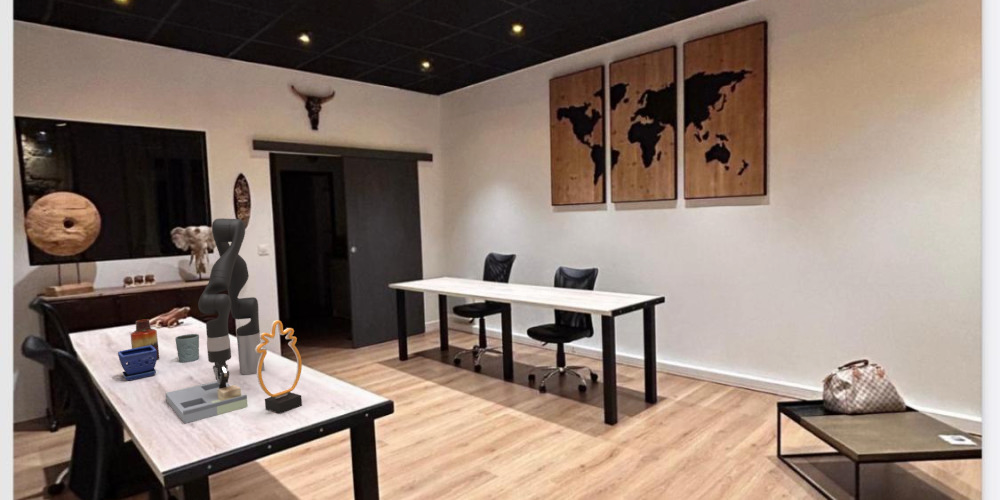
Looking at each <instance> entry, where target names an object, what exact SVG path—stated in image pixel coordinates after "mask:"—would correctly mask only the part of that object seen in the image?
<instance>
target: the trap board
mask: <svg viewBox="0 0 1000 500" xmlns="http://www.w3.org/2000/svg"><path fill="white" fill-rule="evenodd" d="M218 384H219V383H217V381H211V382H207V383H206V382H205V383H202V384H199V385H194V386H193V385H192V386H190V387H185V388H182V389H177V390H172V391H167V392H165V401H166V402H167V404H168V406H170V407H171V409H172V411H174V412H175V413H176V415H177V416H178V418H180V419H181V421H182V422H183V424H190V423H193V422H196V421H201V420H204V419H207V418H211V417H214V416H218V415H221V414H222V415H223V414H226V413H230V412H232V411H237V410H240V409H243V408H248V405H249V404H248V396H247V394H242V393H241V396H239V397H235V398H231V399H227V400H223V401H221V400H220V399H218V393H217V389H219V385H218ZM228 386H231V385H230V384H229V383H228V382H227V383H226V387H228Z"/></svg>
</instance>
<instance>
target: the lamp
mask: <svg viewBox="0 0 1000 500" xmlns="http://www.w3.org/2000/svg"><path fill="white" fill-rule="evenodd" d="M276 328H277V329H276ZM276 330H277V331H278V333H279V335H280V336H284V335H286V336H285V340H290V341H288V343H287V345H288V346H289V347H290V348H291V349H292V351H293V353H294V355H295V357H296V363H297V366H296V373H295V377H294V379H293V381H292V384H291V385H290V387H289V388H287V389H284V390H280V391H277V392H274V393H271V392H270V391H269V389H268V388H267V387H266V385H265V383H264V380H263V375H262V371H263V370H262V364H263V361H264V362H265V358H266V356H267V353H268V349H267V348H263V347H265V346H266V345H268V344H269V343H270V340H269V339H274V338H275V336H276ZM294 332H295V330H294V328H292V327H286V328H285V329H284V325H283V323H282V321H281V320H279V319H277V320H276V319H275V320H274V321H273V322H272V323H271V325H270V333H268V332H262V333H261V332H260V340H262V341H263V342H261V343H260V344H259V345H257V347H256V348H255V351H256V352H257V353H261V355H260V358H259V361H258V365H257V373H256V378H257V382H258V385H259V387H260V389H261V390H262V391H263V393H264V394H265V395H266V396H269V397H267V398H265V399H264V405H265V410H267V411H270V412H273V413H276V414H278V415H279V414H280V415H281V414H284V413H285V412H288V411H290V410H293V409H296V408H299V407H302V406H303V401H302V395H301V394H298V393H294V392H292V391H294V390H295V388H296V387H297V385H298V383H299V380H300V377H301V375H302V374H301V373H302V368H303V365H302V364H303V362H302V356H301V354H300V352H299V349H298V348H297V346H296V343H297V339H298V338H297V337H296V336H293V335H294V334H295V333H294ZM268 338H269V339H268Z"/></svg>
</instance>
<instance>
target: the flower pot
mask: <svg viewBox="0 0 1000 500" xmlns="http://www.w3.org/2000/svg"><path fill="white" fill-rule="evenodd" d="M117 355H118V359H119V363H120V365H121V367H122V370H124V371H122V375H123V377H124V379H125V380H126V381H134V380H138V379H143V378H148V377H152V376H154V375H155V374H156V372H157V370H156V369H155V368H156V364H157V360H156V359H157V351H156V349H155V348H154V347H153V346H152V345H150V346H144V347H139V348H133V349H132V348H129V349H123V350H120V351H117ZM146 360H147V361H146ZM138 361H139V362H138Z"/></svg>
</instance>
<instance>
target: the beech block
mask: <svg viewBox="0 0 1000 500" xmlns="http://www.w3.org/2000/svg"><path fill="white" fill-rule="evenodd" d="M241 390H242V388H241V387H239V386H238V385H236V384H233V385H230V386H228V387H224V388H220V389H217V393H218V399H220V400H221V401H223V400H227V399H231V398H235V397H239V396H241V394H242V391H241Z"/></svg>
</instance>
